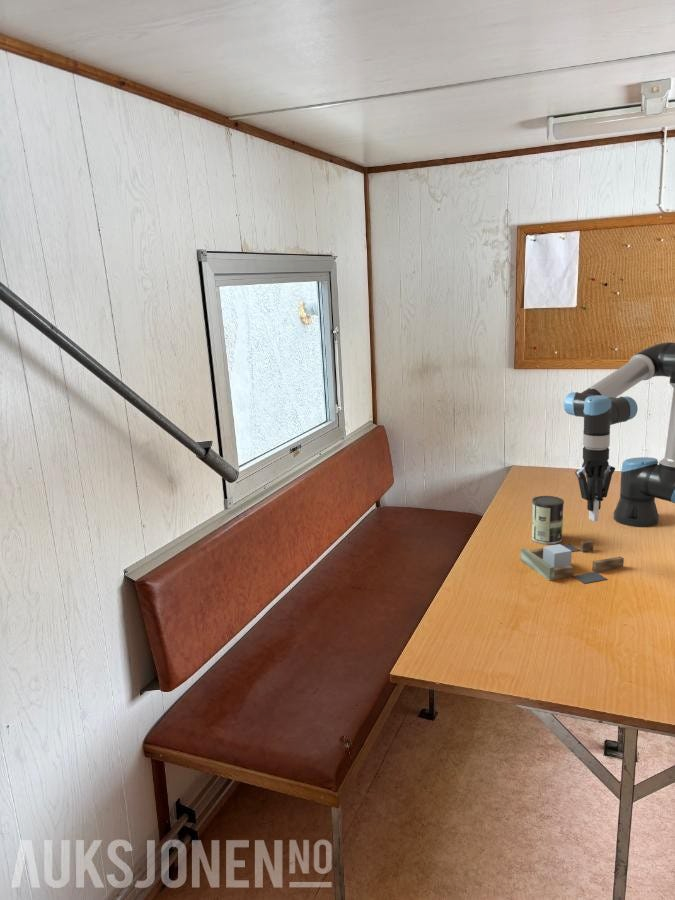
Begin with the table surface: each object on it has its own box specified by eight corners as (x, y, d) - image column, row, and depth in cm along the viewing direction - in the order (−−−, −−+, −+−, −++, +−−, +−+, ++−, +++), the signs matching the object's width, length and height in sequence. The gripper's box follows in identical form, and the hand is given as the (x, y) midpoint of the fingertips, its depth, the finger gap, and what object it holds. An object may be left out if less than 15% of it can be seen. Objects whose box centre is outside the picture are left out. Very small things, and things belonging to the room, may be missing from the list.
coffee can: (560, 534, 235) (562, 495, 231) (563, 545, 225) (565, 505, 222) (530, 532, 237) (531, 495, 234) (532, 543, 227) (533, 504, 224)
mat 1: (569, 544, 225) (569, 544, 225) (579, 550, 220) (579, 550, 220) (548, 548, 223) (548, 547, 223) (558, 554, 218) (558, 553, 218)
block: (559, 561, 212) (559, 544, 211) (570, 569, 207) (571, 550, 205) (542, 564, 211) (543, 546, 209) (553, 572, 205) (554, 553, 204)
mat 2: (595, 572, 203) (595, 571, 203) (607, 579, 198) (607, 578, 198) (572, 576, 201) (572, 575, 201) (584, 583, 196) (584, 583, 196)
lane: (590, 548, 221) (590, 537, 220) (623, 567, 206) (623, 555, 205) (520, 560, 214) (520, 548, 213) (549, 580, 199) (549, 568, 198)
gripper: (606, 441, 208) (603, 512, 214) (569, 447, 205) (568, 519, 211) (622, 446, 201) (619, 520, 207) (585, 452, 198) (582, 527, 204)
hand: (593, 519), depth 209 cm, fingers closed
